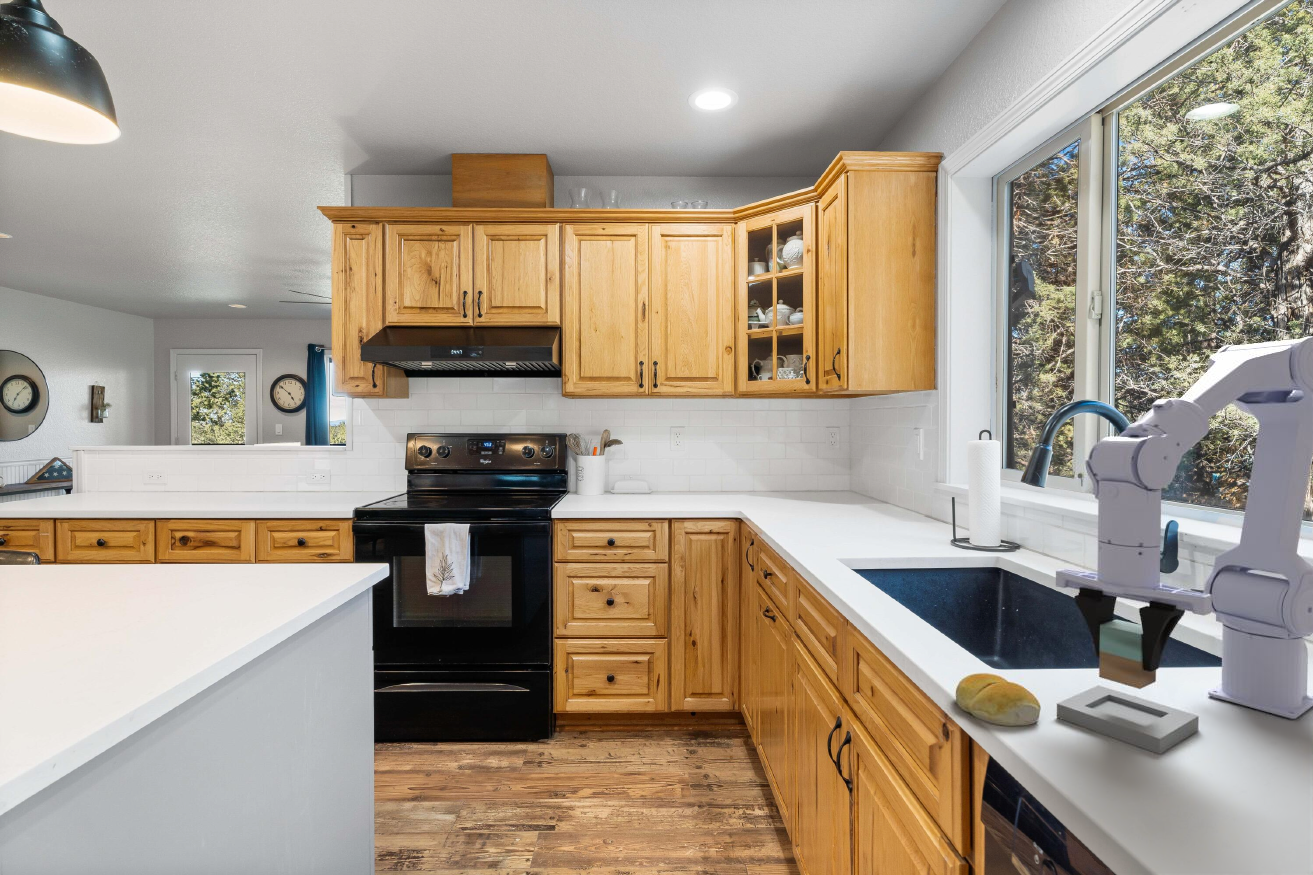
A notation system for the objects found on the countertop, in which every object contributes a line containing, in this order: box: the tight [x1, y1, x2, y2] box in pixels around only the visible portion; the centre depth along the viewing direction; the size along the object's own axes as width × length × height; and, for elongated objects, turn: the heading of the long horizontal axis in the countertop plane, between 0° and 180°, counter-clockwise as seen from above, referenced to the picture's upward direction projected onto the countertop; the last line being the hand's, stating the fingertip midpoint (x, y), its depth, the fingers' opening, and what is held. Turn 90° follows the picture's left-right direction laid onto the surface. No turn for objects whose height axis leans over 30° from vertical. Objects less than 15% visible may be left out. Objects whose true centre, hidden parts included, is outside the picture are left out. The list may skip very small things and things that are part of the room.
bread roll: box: [955, 672, 1042, 727], centre depth 77 cm, size 8×9×4 cm
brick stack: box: [1098, 619, 1157, 690], centre depth 73 cm, size 4×4×6 cm
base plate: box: [1056, 685, 1200, 755], centre depth 73 cm, size 10×10×2 cm
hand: (1126, 662), depth 73 cm, fingers closed on brick stack, 4 cm apart
